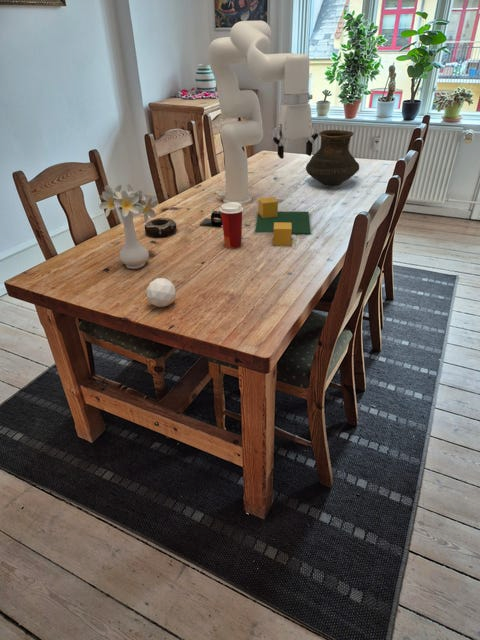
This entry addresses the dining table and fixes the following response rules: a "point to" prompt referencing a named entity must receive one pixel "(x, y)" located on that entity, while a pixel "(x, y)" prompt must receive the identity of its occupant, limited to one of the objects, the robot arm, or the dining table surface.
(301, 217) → the towel
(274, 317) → the dining table surface
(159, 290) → the geometric ball
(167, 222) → the donut
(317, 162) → the ceramic pot
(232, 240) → the paper cup
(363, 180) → the dining table surface
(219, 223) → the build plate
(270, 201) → the yellow block
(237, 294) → the dining table surface
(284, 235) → the yellow block
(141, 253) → the flower vase
